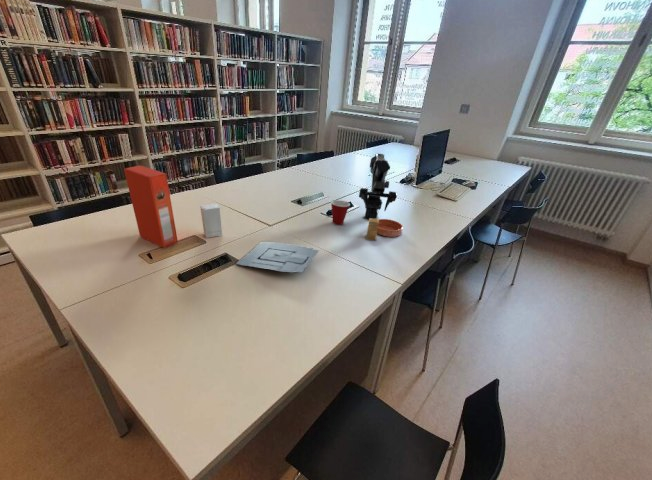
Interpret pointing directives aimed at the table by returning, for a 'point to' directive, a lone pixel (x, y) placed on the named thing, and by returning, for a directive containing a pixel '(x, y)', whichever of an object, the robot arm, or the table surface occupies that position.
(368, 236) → the ochre block
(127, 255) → the table surface
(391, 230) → the bowl
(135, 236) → the table surface
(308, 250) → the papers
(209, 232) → the cosmetic box
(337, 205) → the plastic cup
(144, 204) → the file binder
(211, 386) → the table surface
